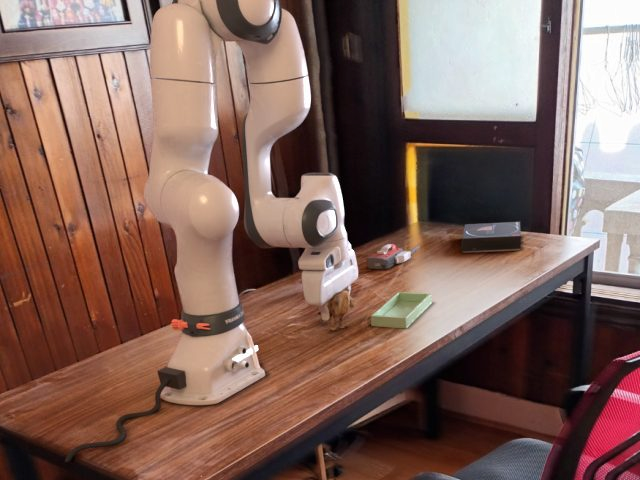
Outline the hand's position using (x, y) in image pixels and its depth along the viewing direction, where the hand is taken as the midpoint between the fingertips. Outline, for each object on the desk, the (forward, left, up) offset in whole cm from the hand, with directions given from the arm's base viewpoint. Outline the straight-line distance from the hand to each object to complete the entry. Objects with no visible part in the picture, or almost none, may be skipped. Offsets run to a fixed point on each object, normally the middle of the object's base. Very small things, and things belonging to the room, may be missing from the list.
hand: (336, 311), depth 173 cm
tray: (+10, -12, -3) cm, 16 cm away
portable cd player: (+72, -16, -4) cm, 74 cm away
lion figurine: (0, +1, -3) cm, 3 cm away
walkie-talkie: (+52, +7, -4) cm, 52 cm away
